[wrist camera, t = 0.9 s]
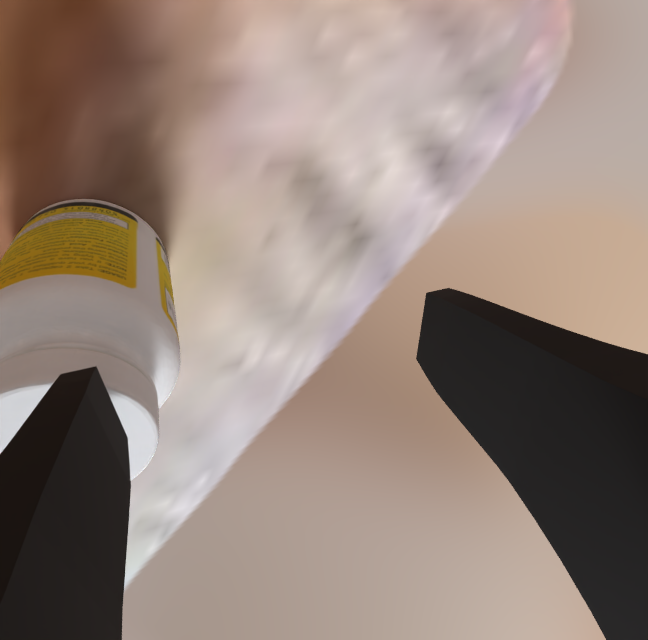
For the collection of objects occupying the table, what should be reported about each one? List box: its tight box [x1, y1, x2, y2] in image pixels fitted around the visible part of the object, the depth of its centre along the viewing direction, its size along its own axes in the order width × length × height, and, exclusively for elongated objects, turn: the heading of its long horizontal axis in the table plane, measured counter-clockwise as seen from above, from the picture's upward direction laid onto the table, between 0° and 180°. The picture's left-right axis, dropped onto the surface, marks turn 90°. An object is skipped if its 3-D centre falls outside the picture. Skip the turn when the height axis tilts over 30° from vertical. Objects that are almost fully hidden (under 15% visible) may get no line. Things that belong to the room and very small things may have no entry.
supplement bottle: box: [0, 199, 180, 481], centre depth 13 cm, size 5×5×10 cm
